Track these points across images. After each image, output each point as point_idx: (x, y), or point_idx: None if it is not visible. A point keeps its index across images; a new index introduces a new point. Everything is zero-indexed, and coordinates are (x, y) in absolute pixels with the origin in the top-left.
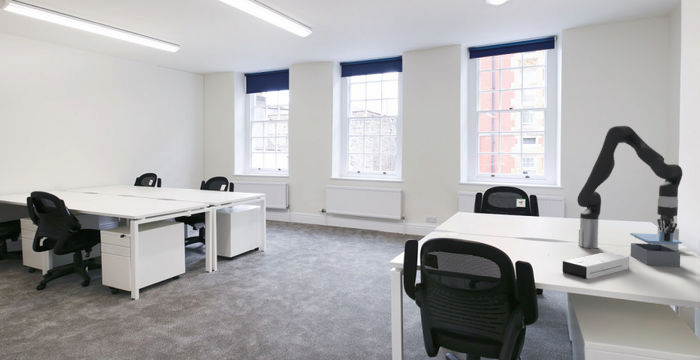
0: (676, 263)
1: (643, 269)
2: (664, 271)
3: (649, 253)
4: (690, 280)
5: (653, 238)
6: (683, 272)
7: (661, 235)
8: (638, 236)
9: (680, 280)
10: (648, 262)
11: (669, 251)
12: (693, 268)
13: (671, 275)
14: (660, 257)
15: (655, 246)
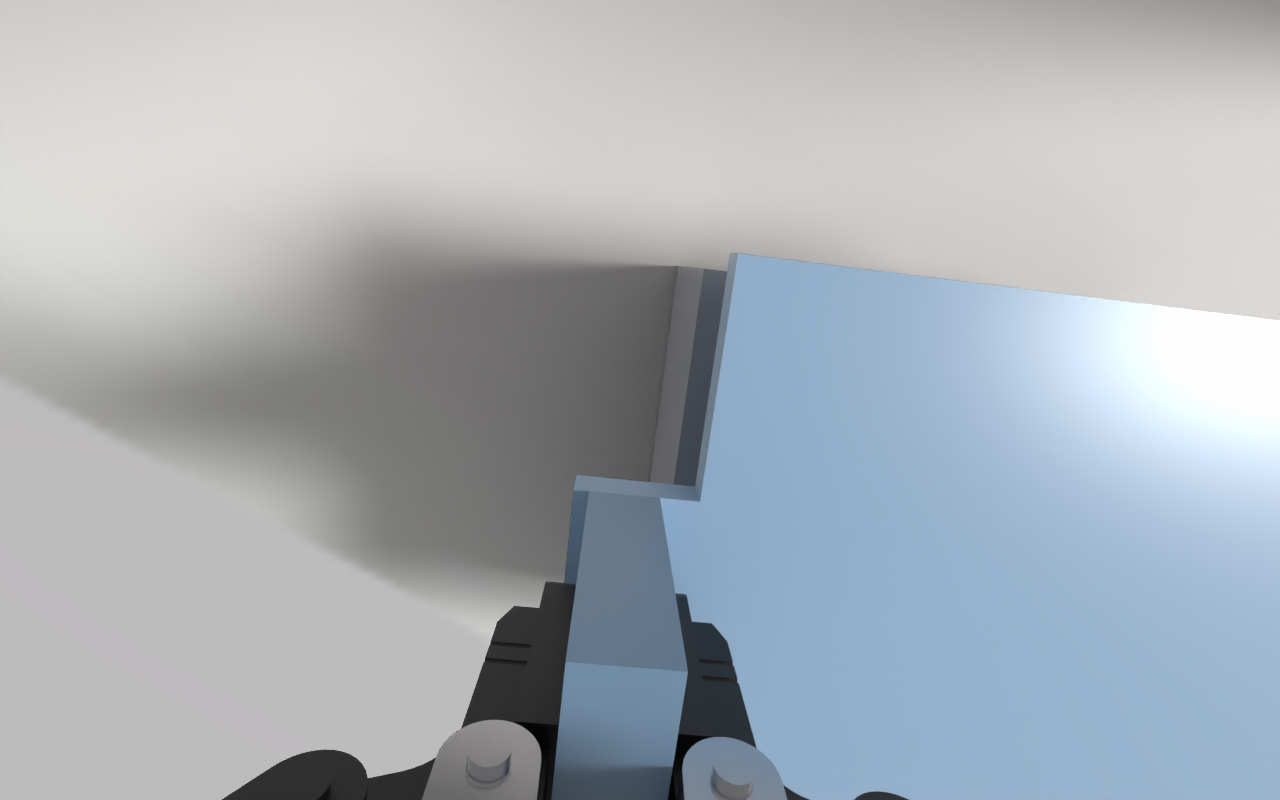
0: None
1: (444, 90)
2: (396, 308)
3: (693, 305)
4: (63, 375)
5: (988, 558)
6: (395, 493)
7: (577, 598)
8: (1243, 333)
9: (24, 263)
10: (677, 287)
11: None
12: None
13: (227, 286)
14: (665, 440)
15: None
